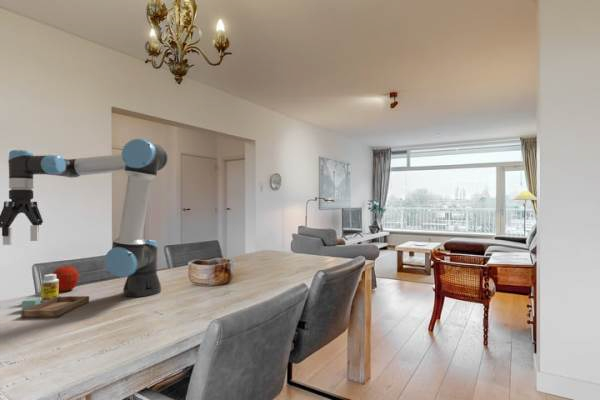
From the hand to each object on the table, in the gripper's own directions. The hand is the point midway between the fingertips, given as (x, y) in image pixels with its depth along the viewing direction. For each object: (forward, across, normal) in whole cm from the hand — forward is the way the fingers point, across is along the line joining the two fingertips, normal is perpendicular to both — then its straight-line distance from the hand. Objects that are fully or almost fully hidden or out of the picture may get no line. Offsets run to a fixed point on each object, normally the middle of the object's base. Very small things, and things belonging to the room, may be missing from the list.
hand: (21, 242), depth 134 cm
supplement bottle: (+24, -1, +10) cm, 26 cm away
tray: (+24, +11, +21) cm, 34 cm away
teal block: (+24, +11, +12) cm, 29 cm away
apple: (+24, -16, +6) cm, 29 cm away
